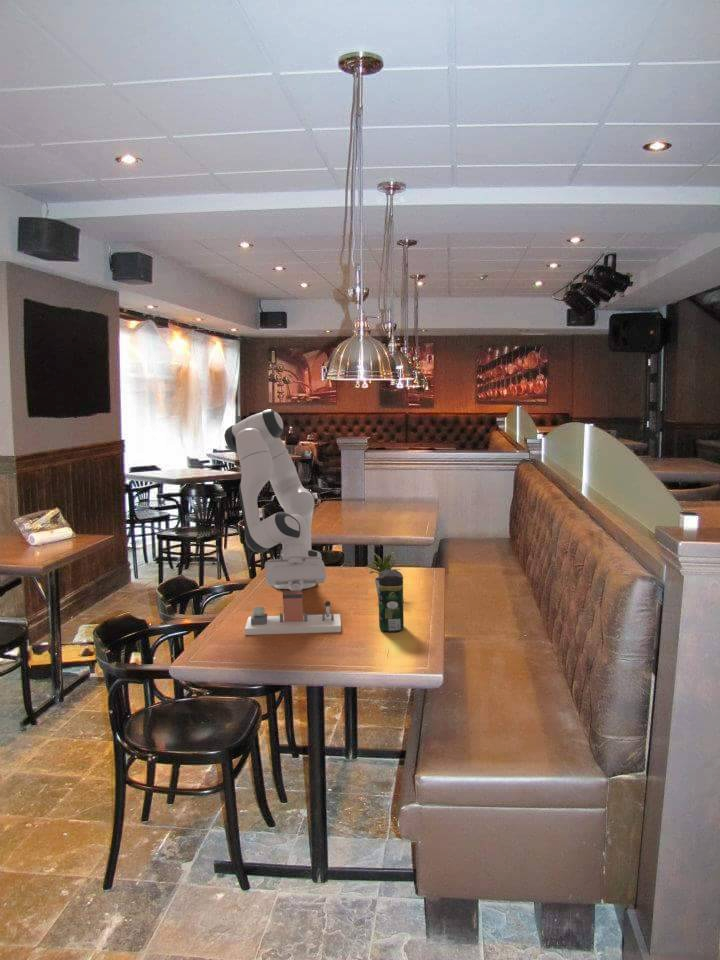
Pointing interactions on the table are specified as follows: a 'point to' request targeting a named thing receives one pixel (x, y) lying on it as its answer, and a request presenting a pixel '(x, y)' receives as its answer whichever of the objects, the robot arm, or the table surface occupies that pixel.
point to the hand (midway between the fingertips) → (296, 594)
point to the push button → (258, 611)
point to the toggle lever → (327, 608)
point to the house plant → (382, 566)
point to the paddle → (293, 605)
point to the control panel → (292, 624)
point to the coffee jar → (390, 600)
